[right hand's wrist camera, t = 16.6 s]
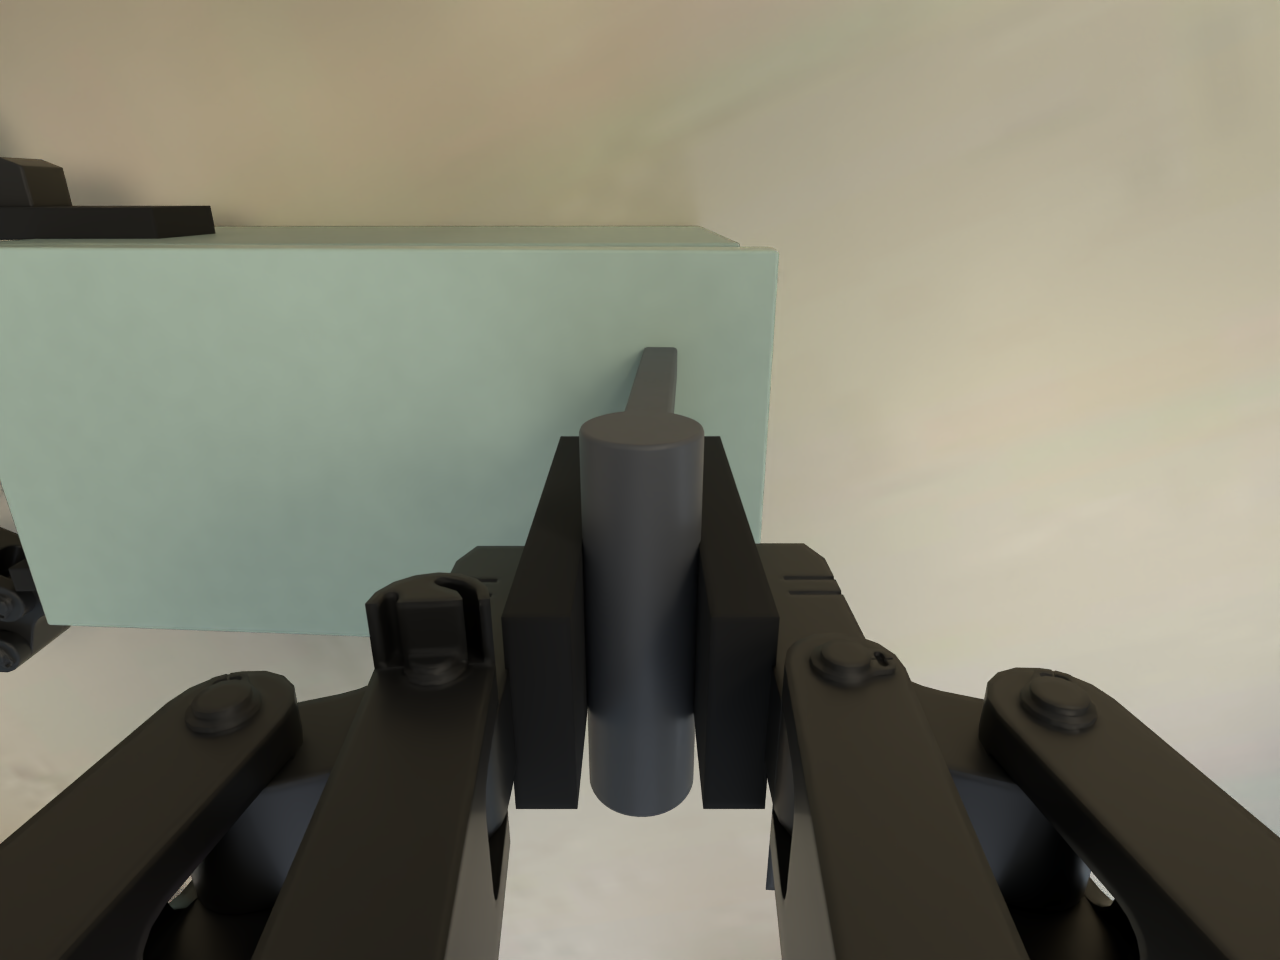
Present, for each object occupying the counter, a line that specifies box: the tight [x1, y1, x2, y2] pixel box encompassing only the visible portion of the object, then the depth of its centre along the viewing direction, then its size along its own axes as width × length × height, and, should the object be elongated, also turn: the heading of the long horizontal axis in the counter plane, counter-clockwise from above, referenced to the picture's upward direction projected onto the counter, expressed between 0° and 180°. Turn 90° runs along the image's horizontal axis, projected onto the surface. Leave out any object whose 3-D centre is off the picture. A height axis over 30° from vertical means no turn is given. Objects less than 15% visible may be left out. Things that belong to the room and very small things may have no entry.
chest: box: [0, 226, 740, 247], centre depth 23 cm, size 17×9×10 cm, turn 90°
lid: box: [0, 244, 779, 817], centre depth 14 cm, size 18×9×8 cm, turn 90°
